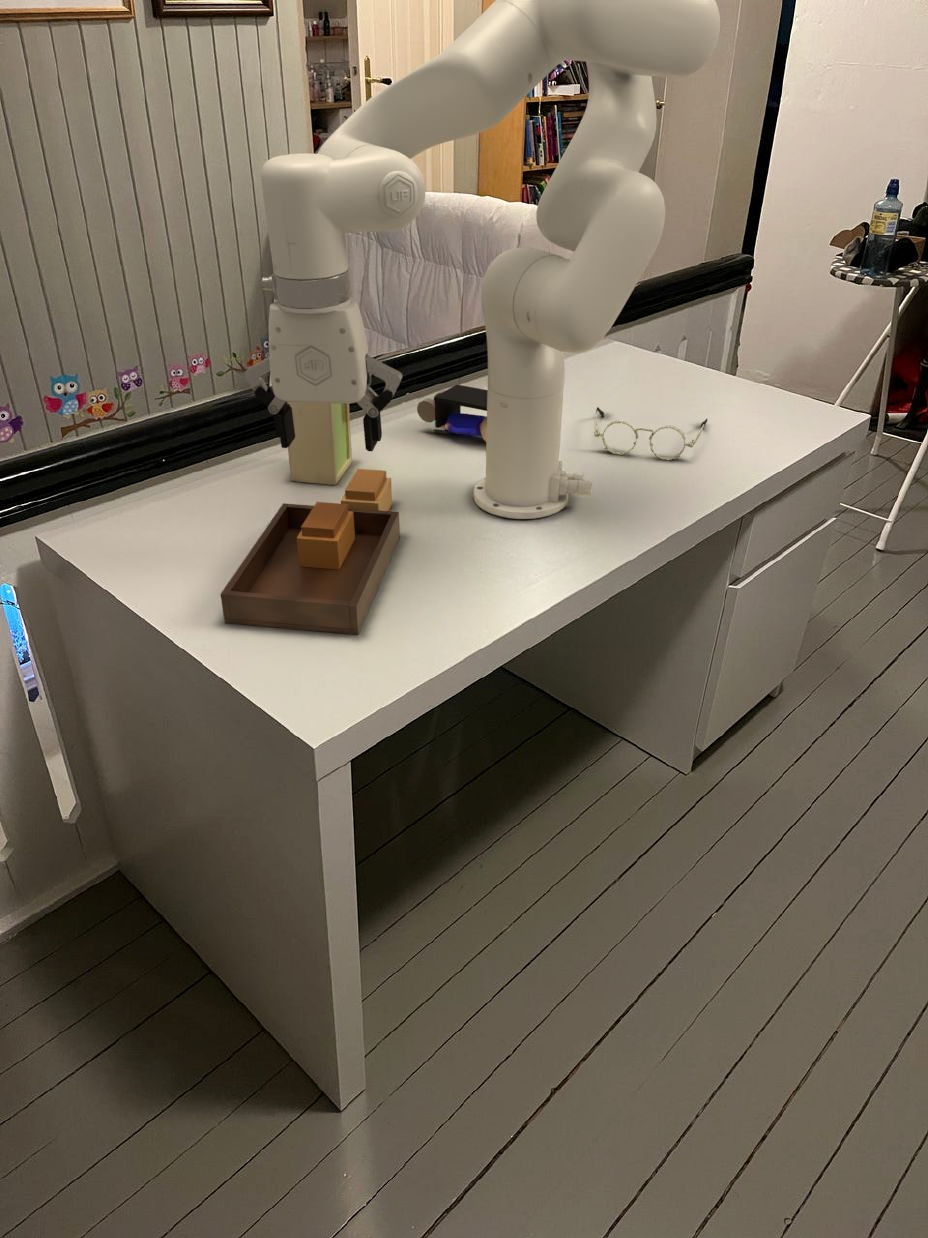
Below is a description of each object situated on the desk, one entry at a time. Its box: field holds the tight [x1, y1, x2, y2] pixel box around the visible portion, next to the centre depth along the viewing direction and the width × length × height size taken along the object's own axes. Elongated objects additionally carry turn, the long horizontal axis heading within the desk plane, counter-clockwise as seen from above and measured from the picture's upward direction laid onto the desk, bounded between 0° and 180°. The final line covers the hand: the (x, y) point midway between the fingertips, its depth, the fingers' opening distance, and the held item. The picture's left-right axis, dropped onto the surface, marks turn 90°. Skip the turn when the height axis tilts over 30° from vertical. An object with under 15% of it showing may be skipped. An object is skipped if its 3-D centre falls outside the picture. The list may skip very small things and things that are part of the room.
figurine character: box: [416, 384, 488, 442], centre depth 142 cm, size 7×8×15 cm
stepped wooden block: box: [340, 468, 393, 511], centre depth 120 cm, size 5×8×5 cm, turn 172°
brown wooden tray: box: [219, 502, 401, 635], centre depth 108 cm, size 15×22×4 cm
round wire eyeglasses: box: [593, 406, 708, 461], centre depth 142 cm, size 17×15×5 cm
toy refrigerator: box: [287, 401, 353, 486], centre depth 127 cm, size 8×7×21 cm
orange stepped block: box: [297, 501, 355, 570], centre depth 111 cm, size 5×8×5 cm, turn 172°
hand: (330, 444), depth 106 cm, fingers open, 9 cm apart
